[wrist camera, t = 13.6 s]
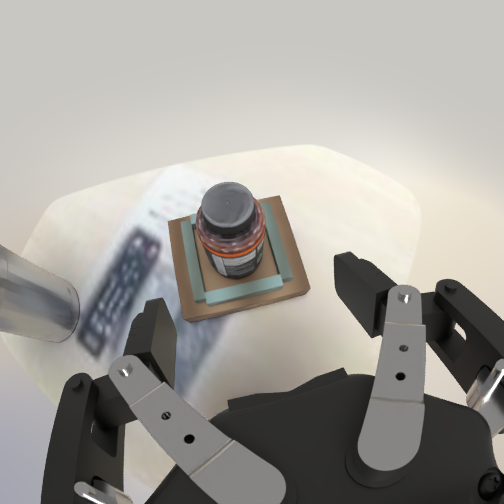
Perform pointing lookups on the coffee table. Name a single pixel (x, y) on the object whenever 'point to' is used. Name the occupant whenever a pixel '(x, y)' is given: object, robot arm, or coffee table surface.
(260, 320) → the coffee table surface
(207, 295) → the walnut foundation
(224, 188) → the supplement bottle
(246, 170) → the coffee table surface
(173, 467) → the robot arm
